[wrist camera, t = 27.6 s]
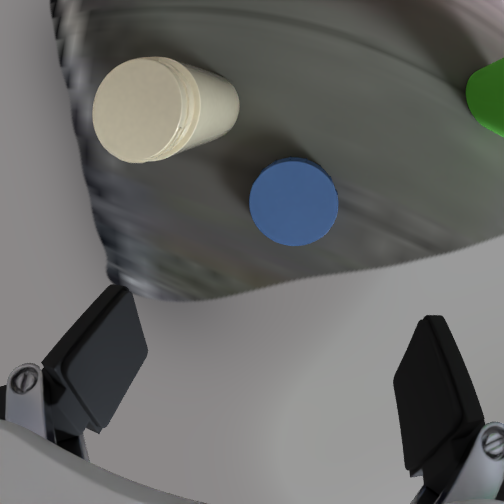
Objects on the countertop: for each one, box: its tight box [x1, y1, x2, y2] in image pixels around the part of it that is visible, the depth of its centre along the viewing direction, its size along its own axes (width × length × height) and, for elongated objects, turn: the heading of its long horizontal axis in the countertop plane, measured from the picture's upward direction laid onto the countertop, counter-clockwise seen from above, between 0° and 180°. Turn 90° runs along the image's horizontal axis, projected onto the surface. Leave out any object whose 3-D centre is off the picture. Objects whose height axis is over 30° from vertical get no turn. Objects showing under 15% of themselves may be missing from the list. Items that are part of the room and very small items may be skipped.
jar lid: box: [249, 156, 338, 246], centre depth 23 cm, size 7×7×2 cm
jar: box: [92, 57, 239, 163], centre depth 17 cm, size 6×6×11 cm
